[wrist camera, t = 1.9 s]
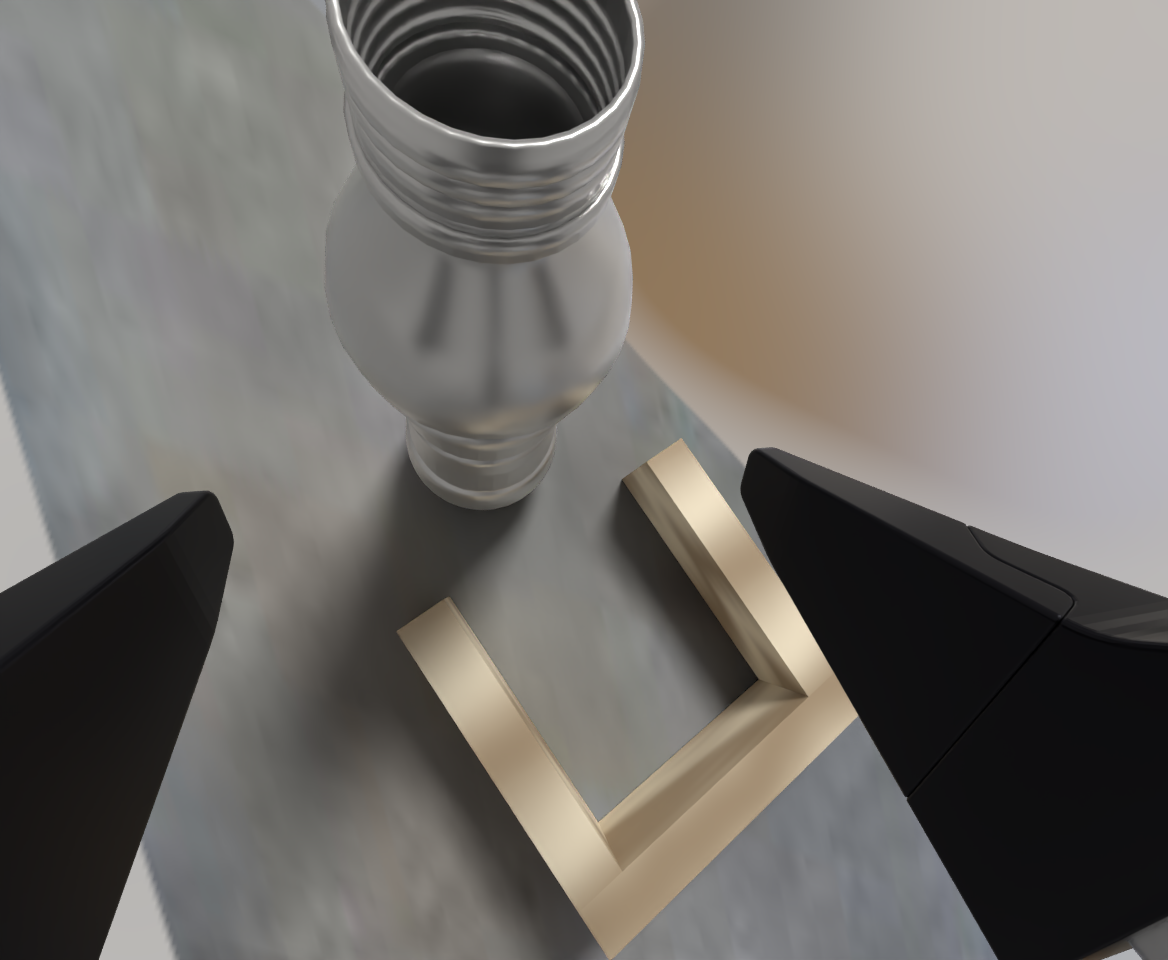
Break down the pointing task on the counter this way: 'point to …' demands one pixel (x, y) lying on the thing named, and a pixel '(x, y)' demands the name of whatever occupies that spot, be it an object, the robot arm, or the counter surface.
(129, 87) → the counter surface
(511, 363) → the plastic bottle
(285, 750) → the counter surface
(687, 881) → the bracket
